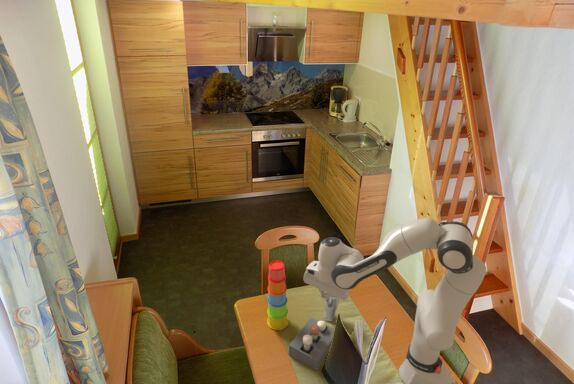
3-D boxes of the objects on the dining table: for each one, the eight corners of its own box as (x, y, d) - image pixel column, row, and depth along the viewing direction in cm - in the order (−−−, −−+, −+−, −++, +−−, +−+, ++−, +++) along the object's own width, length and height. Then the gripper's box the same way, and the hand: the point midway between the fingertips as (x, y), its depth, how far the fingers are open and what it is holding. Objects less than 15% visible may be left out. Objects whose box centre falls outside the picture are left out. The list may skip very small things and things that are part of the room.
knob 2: (326, 332, 176) (327, 323, 173) (322, 338, 173) (323, 328, 170) (318, 328, 178) (319, 319, 174) (314, 334, 174) (315, 324, 171)
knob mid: (320, 337, 169) (321, 327, 166) (315, 343, 166) (317, 333, 163) (312, 333, 171) (313, 323, 168) (307, 339, 168) (308, 329, 165)
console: (336, 340, 175) (337, 330, 172) (316, 370, 161) (317, 361, 158) (309, 326, 182) (310, 317, 179) (288, 354, 167) (289, 345, 165)
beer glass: (335, 323, 184) (339, 300, 177) (321, 321, 185) (324, 298, 178) (337, 313, 190) (340, 290, 183) (323, 310, 191) (325, 287, 184)
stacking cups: (274, 334, 177) (276, 276, 160) (263, 319, 184) (264, 262, 168) (292, 325, 182) (296, 268, 165) (281, 311, 189) (284, 255, 173)
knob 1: (313, 347, 164) (314, 337, 161) (308, 354, 161) (309, 343, 158) (305, 343, 166) (306, 333, 163) (300, 349, 163) (301, 339, 160)
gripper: (353, 277, 155) (349, 303, 162) (310, 259, 165) (307, 284, 171) (347, 286, 151) (343, 312, 157) (302, 267, 160) (300, 292, 167)
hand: (324, 297), depth 164 cm, fingers closed
